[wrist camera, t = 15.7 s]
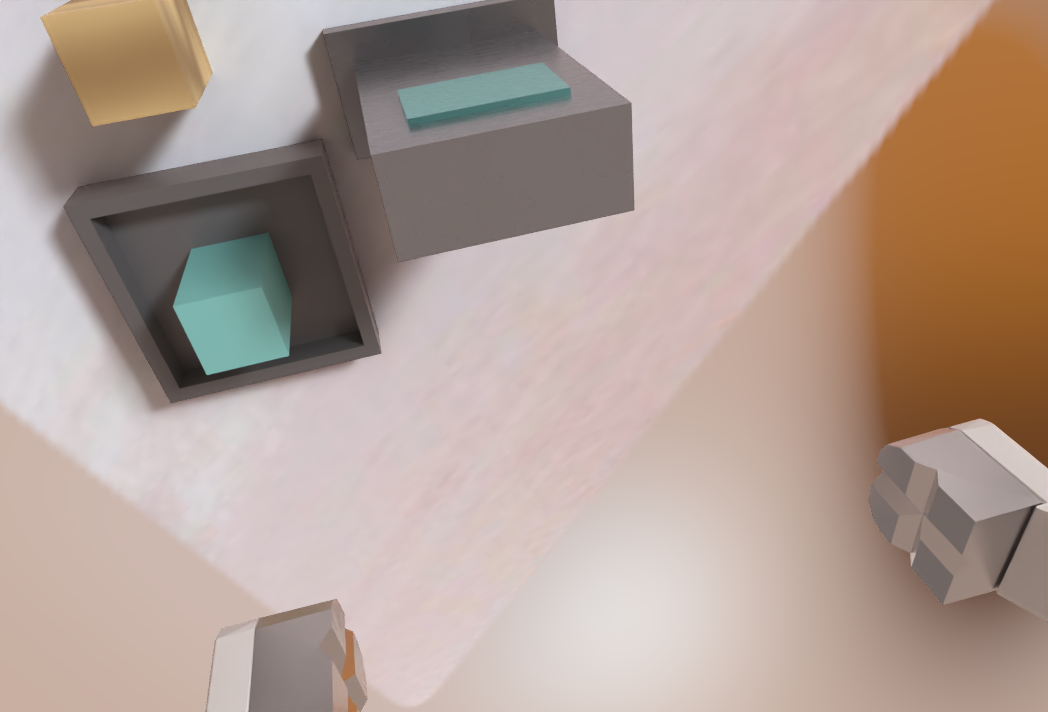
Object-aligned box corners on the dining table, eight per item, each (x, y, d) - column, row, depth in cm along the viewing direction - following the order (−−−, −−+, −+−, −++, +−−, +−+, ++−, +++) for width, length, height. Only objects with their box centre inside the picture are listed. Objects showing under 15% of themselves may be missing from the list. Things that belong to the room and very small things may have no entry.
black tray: (77, 187, 35) (63, 207, 33) (321, 139, 36) (322, 155, 34) (177, 377, 42) (170, 402, 40) (378, 330, 43) (381, 353, 41)
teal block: (191, 249, 37) (172, 306, 32) (268, 232, 37) (261, 287, 33) (219, 312, 39) (206, 375, 34) (292, 296, 40) (288, 356, 35)
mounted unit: (323, 29, 33) (327, 115, 22) (546, -11, 35) (658, 51, 23) (355, 152, 37) (374, 280, 26) (557, 111, 38) (659, 216, 27)
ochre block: (83, -7, 30) (40, 17, 26) (178, -22, 31) (153, -1, 26) (124, 88, 33) (92, 126, 28) (212, 72, 33) (195, 107, 29)
